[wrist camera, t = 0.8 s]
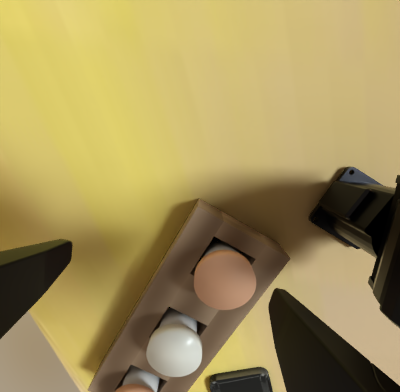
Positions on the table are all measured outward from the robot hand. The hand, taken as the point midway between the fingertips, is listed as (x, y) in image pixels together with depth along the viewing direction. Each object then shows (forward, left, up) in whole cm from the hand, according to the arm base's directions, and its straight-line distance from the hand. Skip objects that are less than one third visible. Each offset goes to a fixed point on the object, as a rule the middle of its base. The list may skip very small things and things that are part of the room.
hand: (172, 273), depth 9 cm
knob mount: (-6, +12, -12) cm, 18 cm away
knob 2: (-6, +3, -11) cm, 13 cm away
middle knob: (-6, +12, -11) cm, 17 cm away
